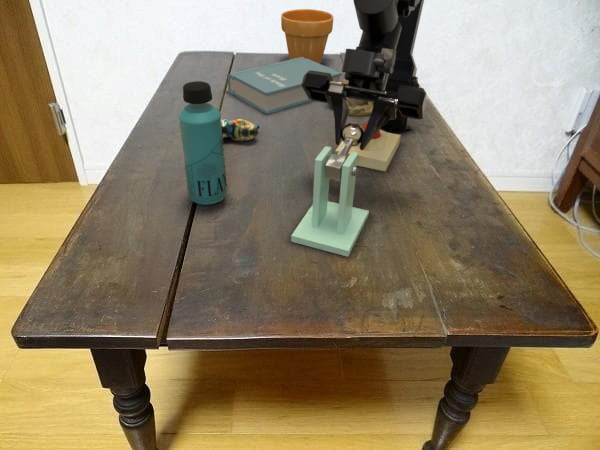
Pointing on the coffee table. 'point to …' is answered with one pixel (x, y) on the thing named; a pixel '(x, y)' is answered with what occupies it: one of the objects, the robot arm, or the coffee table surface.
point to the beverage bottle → (202, 145)
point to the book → (275, 84)
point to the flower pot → (306, 33)
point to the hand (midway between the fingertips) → (348, 146)
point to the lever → (344, 150)
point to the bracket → (332, 211)
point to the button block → (376, 151)
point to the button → (375, 134)
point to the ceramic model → (358, 105)
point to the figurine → (238, 129)
